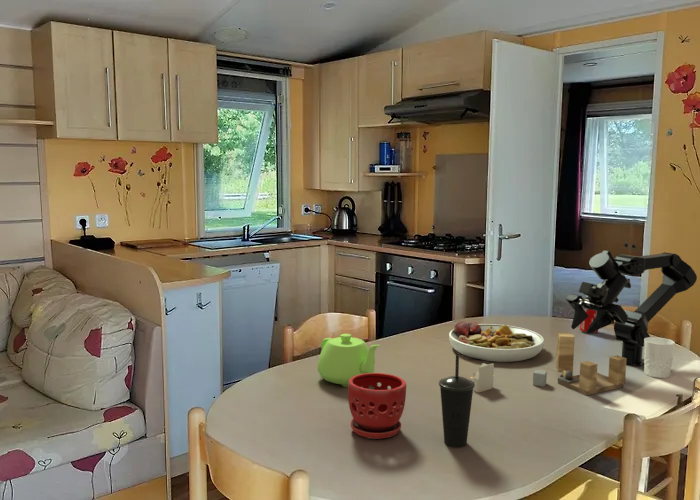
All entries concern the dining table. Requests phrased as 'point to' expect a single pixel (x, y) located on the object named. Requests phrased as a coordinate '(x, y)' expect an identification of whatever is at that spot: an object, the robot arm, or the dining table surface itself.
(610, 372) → the stool seat
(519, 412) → the dining table surface
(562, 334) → the folding leg
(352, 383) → the plant pot
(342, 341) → the teapot
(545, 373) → the block
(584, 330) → the soda can
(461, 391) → the drinking cup
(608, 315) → the robot arm
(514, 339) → the bowl
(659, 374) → the white cup
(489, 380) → the architectural model
